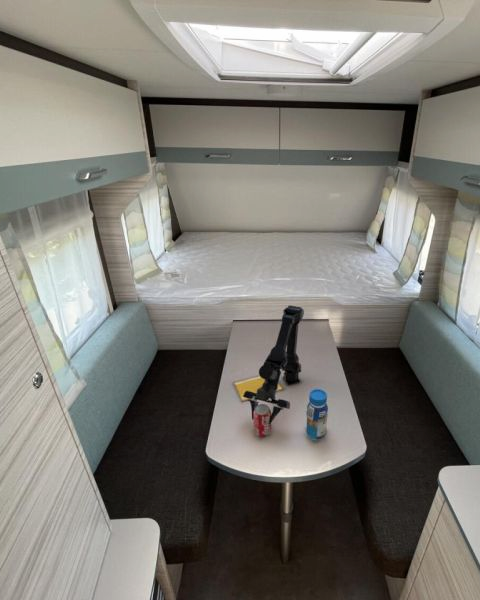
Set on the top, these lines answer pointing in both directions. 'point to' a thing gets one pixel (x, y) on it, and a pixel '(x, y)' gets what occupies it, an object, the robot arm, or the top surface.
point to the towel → (251, 386)
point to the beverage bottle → (317, 414)
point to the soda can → (262, 420)
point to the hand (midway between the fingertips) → (261, 421)
